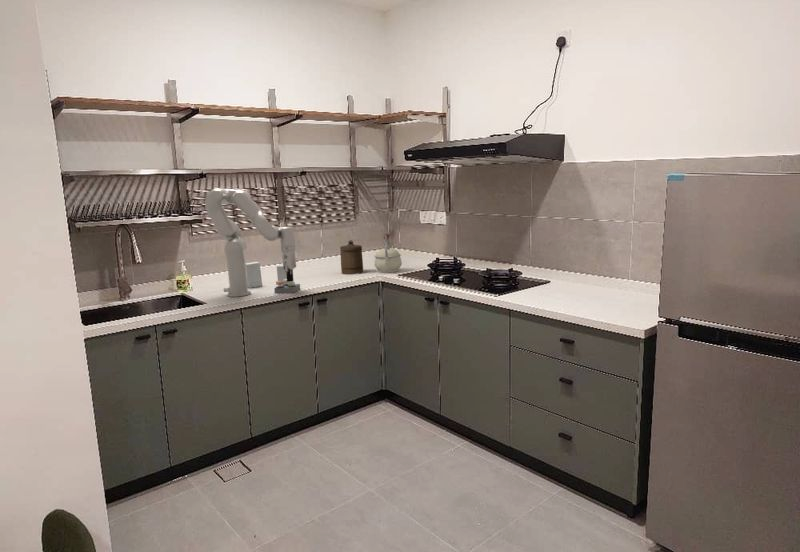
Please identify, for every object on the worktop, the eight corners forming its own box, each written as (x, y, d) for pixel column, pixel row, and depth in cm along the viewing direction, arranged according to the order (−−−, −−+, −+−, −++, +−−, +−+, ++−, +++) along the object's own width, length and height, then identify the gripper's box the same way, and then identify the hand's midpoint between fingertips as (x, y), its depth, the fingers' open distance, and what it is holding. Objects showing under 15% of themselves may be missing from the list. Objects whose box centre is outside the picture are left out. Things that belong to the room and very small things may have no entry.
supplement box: (289, 286, 313) (287, 265, 311) (278, 287, 314) (276, 266, 312) (294, 284, 320) (292, 264, 318) (283, 284, 321) (281, 264, 319)
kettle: (376, 269, 364) (374, 233, 360) (402, 268, 363) (400, 232, 359) (373, 275, 340) (370, 237, 336) (401, 274, 339) (399, 235, 335)
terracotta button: (275, 284, 292) (274, 282, 292) (277, 283, 296) (277, 280, 296) (282, 284, 292) (281, 281, 292) (284, 283, 296) (284, 280, 296)
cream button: (282, 282, 299) (282, 279, 299) (285, 281, 303) (284, 278, 303) (289, 282, 299) (289, 279, 298) (291, 281, 302) (291, 278, 302)
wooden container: (365, 270, 363) (363, 239, 359) (360, 274, 348) (358, 241, 345) (344, 271, 365) (342, 239, 361) (339, 274, 350) (336, 242, 347)
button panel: (274, 293, 293) (274, 287, 292) (281, 289, 304) (281, 283, 304) (293, 293, 291) (293, 287, 291) (300, 288, 303) (299, 283, 303)
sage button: (286, 286, 294) (286, 283, 294) (289, 284, 298) (288, 282, 298) (293, 285, 293) (293, 283, 293) (295, 284, 297) (295, 281, 297)
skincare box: (260, 285, 324) (257, 261, 321) (262, 286, 319) (260, 262, 316) (246, 287, 320) (244, 263, 317) (248, 288, 315) (246, 263, 312)
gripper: (290, 250, 285) (292, 283, 287) (298, 247, 299) (300, 278, 302) (277, 250, 285) (279, 283, 288) (285, 247, 300) (287, 279, 303)
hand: (290, 281), depth 295 cm, fingers closed
